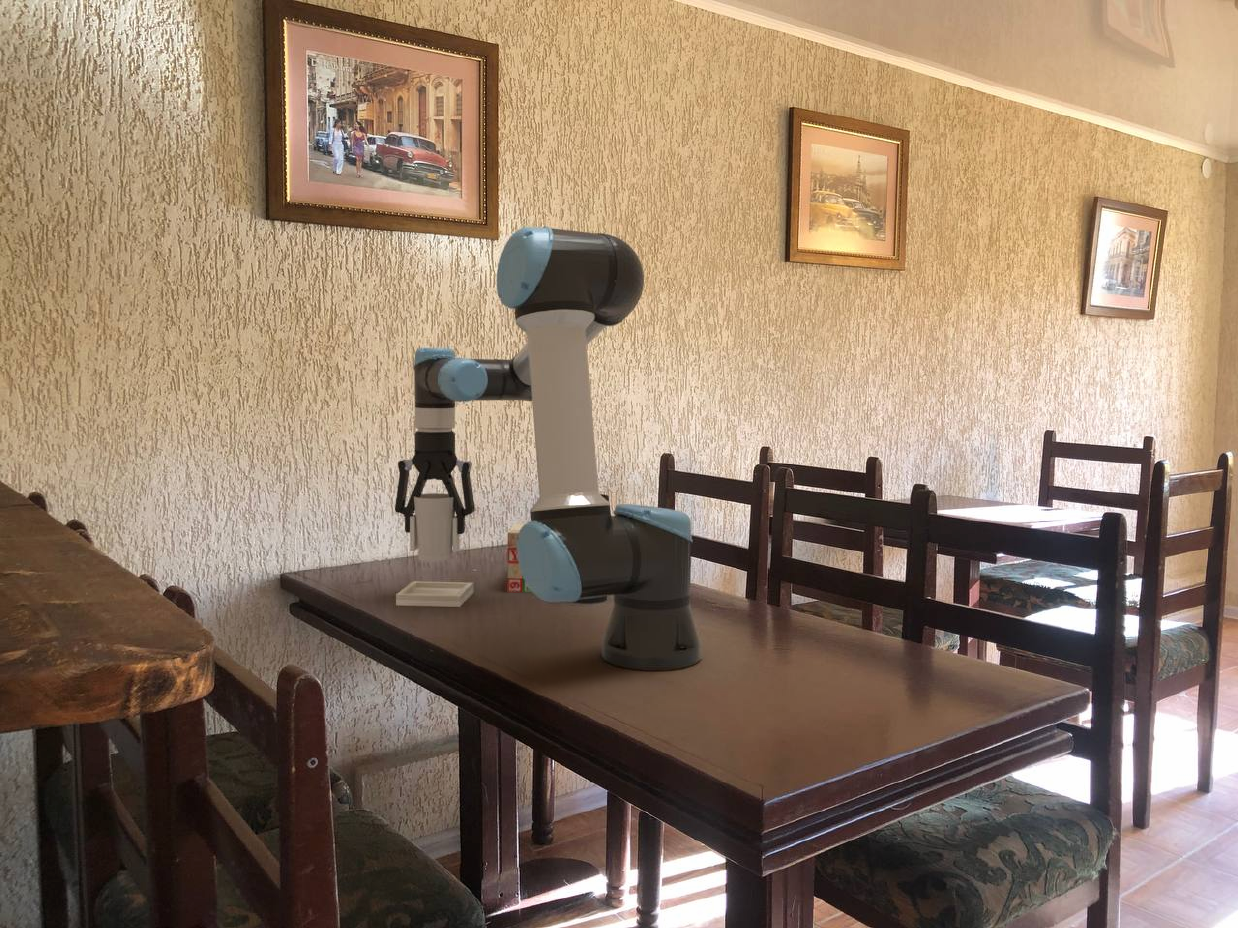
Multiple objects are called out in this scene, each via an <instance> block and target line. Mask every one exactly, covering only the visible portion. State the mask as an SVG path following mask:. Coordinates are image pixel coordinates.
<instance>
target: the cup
mask: <svg viewBox="0 0 1238 928" xmlns="http://www.w3.org/2000/svg"><path fill="white" fill-rule="evenodd" d="M414 506H415V511H414V515H415V516H416V529H417V542H418V549H417V551H418V553H417V555H418V556H417V558H418V560H419V561H421V562H431V563H433V562H447V561H450V560H452V559H453V517H455V516H456V513H455V510H454V507H453V497H451V498H450V497H449V495H448V493H443V492H442V493H440V492H438V493H437V492H436V493H435V492H434V493H431V492H430V493H429V492H428V493H421V496H420V498H418V497H415V496H414Z"/></svg>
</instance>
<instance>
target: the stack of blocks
mask: <svg viewBox="0 0 1238 928" xmlns="http://www.w3.org/2000/svg"><path fill="white" fill-rule="evenodd" d="M527 523H528V522H513V523H512V526H511V527H510V529H508V531H507V539H506V540H507V542H506V543H507V544H506V545H507V552H506V554H507V557H506V558H507V559H506V560H507V561H506V562H507V577H506V585H507V586H506V593H528V594H529V593H532V594H534V593H533V592H532V591H531V589H530V587H529V586H528V585H527V583H526V581H525V579H524V577H523V575H522V572H521V569H520V566H519V561H518V556H517V540H518V539H519V536H518V534H519V531H520V529H521V528H522V527H523V526H524V525H525V524H527Z"/></svg>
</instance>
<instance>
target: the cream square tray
mask: <svg viewBox="0 0 1238 928" xmlns="http://www.w3.org/2000/svg"><path fill="white" fill-rule="evenodd" d="M473 594H474V582H463V581H462V582H455V581H422V580H421V581H418V580H417V581H412V582H410V583H409V584H408V585H406V586H405V587H404V588H403V589H401V590H400V591H399V592H398V593H396V594H395V606H403V607H404V606H405V607H406V606H408V607H409V606H410V607H445V608H446V607H448V608H461V607H462V605H464V603H465V602H466V601H467V600H468V599H469V598H470V597H471V596H472V595H473Z"/></svg>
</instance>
